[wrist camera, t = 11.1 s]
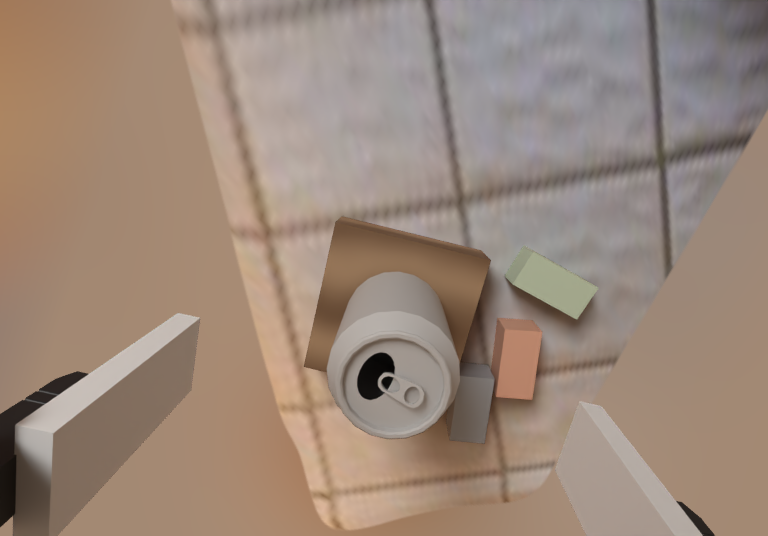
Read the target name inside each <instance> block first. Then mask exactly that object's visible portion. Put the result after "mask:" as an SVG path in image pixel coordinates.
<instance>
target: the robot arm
mask: <svg viewBox="0 0 768 536" xmlns="http://www.w3.org/2000/svg"><path fill="white" fill-rule="evenodd" d="M199 323H200V318H198V317H194V316H189V315H185V314H180V313H177V314H176V315H174V316H173V317H172V318H170V319H168V320H167V321H166V322H164V323H163V324H161V325H160V326H158V327H157V328H155V329H154V330H152V331H151V332H150V333H148V334H147V335H145V336H144V337H142V338H141V339H139V340H138V341H137V342H135V343H134V344H132V345H131V346H129V347H128V348H126V349H125V350H123V351H122V352H121V353H119V354H118V355H116V356H115V357H113V358H112V359H110V360H109V361H107V362H106V363H104V364H103V365H102V366H100V367H99V368H97V369H96V370H94V371H93V372H91V373H90V374H86V373H82V372H74V373H71V374H68V375H65V376H63V377H60V378H57V379H55V380H53V381H52V382H50V383H48V384H47V385H45V386H44V387H42V388H40V389H39V391H38V392H34V393H33V394H32V395H29V396H28V397H26V399H25V400H22V401H20V402H19V403H17V404H15V405H14V406H12V407H11V408H9V409H8V410H6V411H4V412H3V413H1V414H0V527H1V526H2V525H3V524H4V523H5V522H7V521H8V520H9V519H10V518H11V517H12V516H13V536H58V535H59V533H60V532H61V531H62V530H63V529H64V528H65V527H66V526H67V525H68V524H69V523H70V522H71V520H72V519H73V518H74V517H75V516H76V515H77V514H78V513H79V512H80V511H81V509H83V507H84V506H85V505H86V504H87V503H88V502H89V501H90V500H91V499H92V498H93V497H94V495H95V494H96V493H97V492H98V491H99V490H100V489H101V488H102V487H103V486H104V484H105V483H106V482H107V481H108V480H109V479H110V478H111V477H112V476H113V475H114V474H115V473H116V471H117V470H118V469H119V468H120V467H121V466H122V465H123V464H124V463H125V462H126V461H127V460H128V458H129V457H130V456H131V455H132V454H133V453H134V452H135V451H136V450H137V449H138V447H139V446H140V445H141V444H142V443H143V442H144V441H145V439H147V438H148V437H149V436H150V434H151V433H152V432H153V431H154V430H155V429H156V428H157V427H158V426H159V424H160V423H161V422H162V421H163V420H164V419H165V418H166V417H167V416H168V415H169V414H170V413H171V412H172V410H173V409H174V408H175V407H176V406H177V405H178V404H179V403H180V402H181V401H182V399H183V398H184V397H185V396H186V395H187V394H188V393H189V392H190V391H191V388H192V379H193V371H194V363H195V355H196V347H197V339H198V331H199ZM555 471H556V473H557V475H558V477H559V479H560V481H561V483H562V486H563V488H564V490H565V492H566V494H567V496H568V498H569V500H570V502H571V505H572V507H573V509H574V511H575V513H576V515H577V517H578V519H579V521H580V523H581V526H582V528H583V529H584V532H585V534H586V536H714V534H713V532H712V531H711V530H710V529H709V528H708V526H707V525H706V524H705V523H704V521H703V520H702V519H701V518H700V517H699V516H698V515H696V514H695V513H694V512H693V511H691V510H690V509H689V508H688V507H687V506H686V505H684V504H683V503H682V502H678V501H675V499H674V498H673V497H672V496H671V494H670V493H669V492H668V491H667V489H666V488H665V487H664V485H663V484H662V483H661V482H660V480H659V479H658V478H657V477H656V475H655V474H654V473H653V471H652V470H651V469H650V468H649V466H648V465H647V464H646V462H645V461H644V460H643V459H642V457H641V456H640V455H639V454H638V452H637V451H636V450H635V448H634V447H633V446H632V445H631V443H630V442H629V441H628V439H627V438H626V437H625V436H624V434H623V433H622V432H621V430H620V429H619V428H618V427H617V426H616V424H615V423H614V422H613V420H612V419H611V418H610V417H609V415H608V414H607V413H606V411H605V410H604V409H603V408H602V406H599V405H594V404H590V403H585V402H581V401H579V404H578V406H577V409H576V412H575V415H574V418H573V420H572V423H571V426H570V429H569V432H568V434H567V437H566V440H565V443H564V446H563V448H562V451H561V454H560V457H559V460H558V462H557V465H556V468H555Z"/></svg>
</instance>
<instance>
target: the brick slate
mask: <svg viewBox="0 0 768 536" xmlns="http://www.w3.org/2000/svg"><path fill="white" fill-rule="evenodd" d="M459 367H460V383H459V386H458V389H457V392H456V396H455V399H454V400H453V402H452V403H451V405H450V406H449V407H448V412H447V419H446V424H447V429H448V434H449V439H450V440H451V441H462V442H472V443H483V444H485V438H486V432H487V425H488V419H489V412H490V406H491V400H492V393H493V387H494V380H495V379H494V377H493V375H492V373H491V370H490V368H489V366H488V365H484V364H474V363H463V362H460V364H459Z"/></svg>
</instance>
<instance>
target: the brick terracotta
mask: <svg viewBox="0 0 768 536" xmlns="http://www.w3.org/2000/svg"><path fill="white" fill-rule="evenodd" d="M541 337H542V331H541V330H540V329H539V328H538V326H537V325H536V324H535V323H534V322H533V321H532V320H520V319H506V318H497V326H496V334H495V342H494V350H493V358H492V366H491V373H492V375H493V377H494V379H495V380H494V387H493V391H494V393H495V395H496V397H502V398H516V399H529V400H532V398H533V391H534V384H535V378H536V371H537V364H538V357H539V351H540V344H541Z"/></svg>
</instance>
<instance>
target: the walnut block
mask: <svg viewBox="0 0 768 536" xmlns="http://www.w3.org/2000/svg"><path fill="white" fill-rule="evenodd" d="M490 262H491V260H490V259H489V258H488V257H487V256H486V255H485V254H484V253H483V252H482V251H481V250H477V249H473V248H469V247H464V246H460V245H456V244H452V243H448V242H444V241H440V240H436V239H432V238H428V237H424V236H420V235H416V234H412V233H407V232H403V231H399V230H395V229H391V228H387V227H383V226H379V225H375V224H371V223H367V222H363V221H359V220H355V219H350V218H346V217H341V218H340V219H339V220H338V221H336V222H335V227H334V232H333V236H332V241H331V245H330V250H329V254H328V259H327V263H326V268H325V273H324V277H323V282H322V286H321V291H320V295H319V300H318V305H317V309H316V314H315V318H314V323H313V327H312V332H311V336H310V341H309V346H308V350H307V355H306V359H305V364H304V367H307V368H311V369H315V370H319V371H324V372H327V365H328V361H329V356H330V352H331V348H332V346H333V343H334V340H335V338H336V335H337V332H338V329H339V327H340V324H341V321H342V319H343V316H344V313H345V310H346V308H347V305H348V302H349V300H350V298H351V297H352V295H353V294H354V292H355V290H356V289H357V288H358V287H359V286H360V285H361V284H363V283H364V282H365V281H366V280H367V279H369V278H371V277H373V276H376V275H378V274H381V273H384V272H403V273H407V274H411V275H415V276H416V277H418V278H420V279H421V280H423V281H425V282H426V283H428V284H429V285H430V287H431V288H432V289H433V290H434V291H435V292H436V294H437V295H438V297H439V300H440V302H441V305H442V307H443V310H444V313H445V316H446V320H447V323H448V326H449V329H450V333H451V336H452V339H453V342H454V346H455V349H456V352H457V355H458V359H459V364H460V361H461V357H462V354H463V351H464V348H465V344H466V341H467V338H468V334H469V331H470V328H471V324H472V321H473V318H474V314H475V311H476V308H477V305H478V301H479V298H480V295H481V291H482V288H483V285H484V281H485V278H486V275H487V271H488V268H489V265H490Z"/></svg>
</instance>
